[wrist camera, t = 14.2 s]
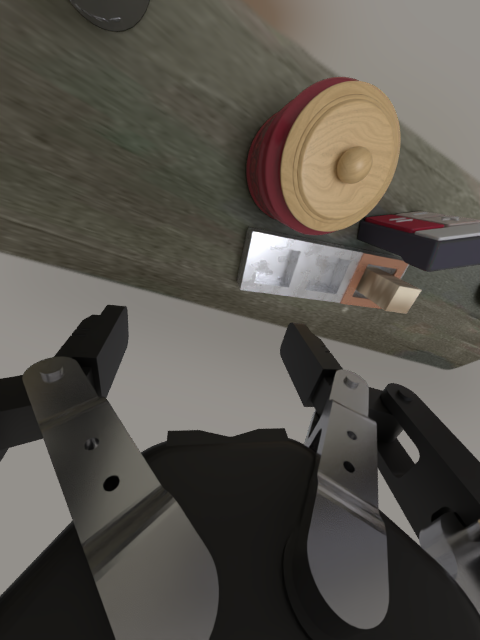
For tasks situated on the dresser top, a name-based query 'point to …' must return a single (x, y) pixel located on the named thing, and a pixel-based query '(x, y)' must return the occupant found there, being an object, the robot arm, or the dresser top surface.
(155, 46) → the dresser top surface
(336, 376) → the robot arm
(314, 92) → the canister
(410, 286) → the peg
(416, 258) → the dark grey box
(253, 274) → the rail
